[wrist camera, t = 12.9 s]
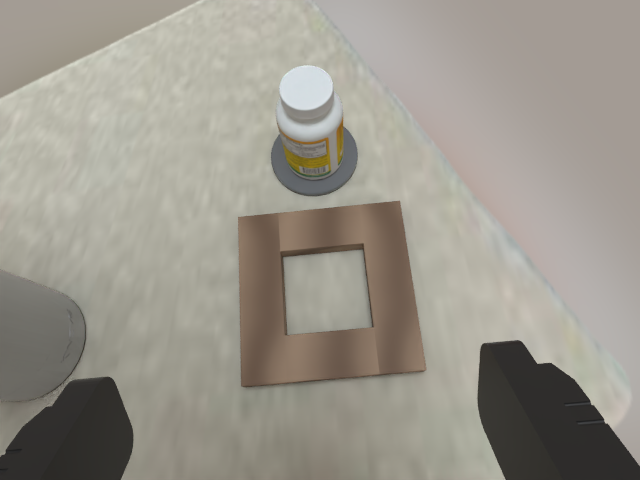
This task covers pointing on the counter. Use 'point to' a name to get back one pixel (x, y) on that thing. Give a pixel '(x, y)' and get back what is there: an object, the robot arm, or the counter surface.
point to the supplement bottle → (310, 122)
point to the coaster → (320, 185)
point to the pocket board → (334, 346)
